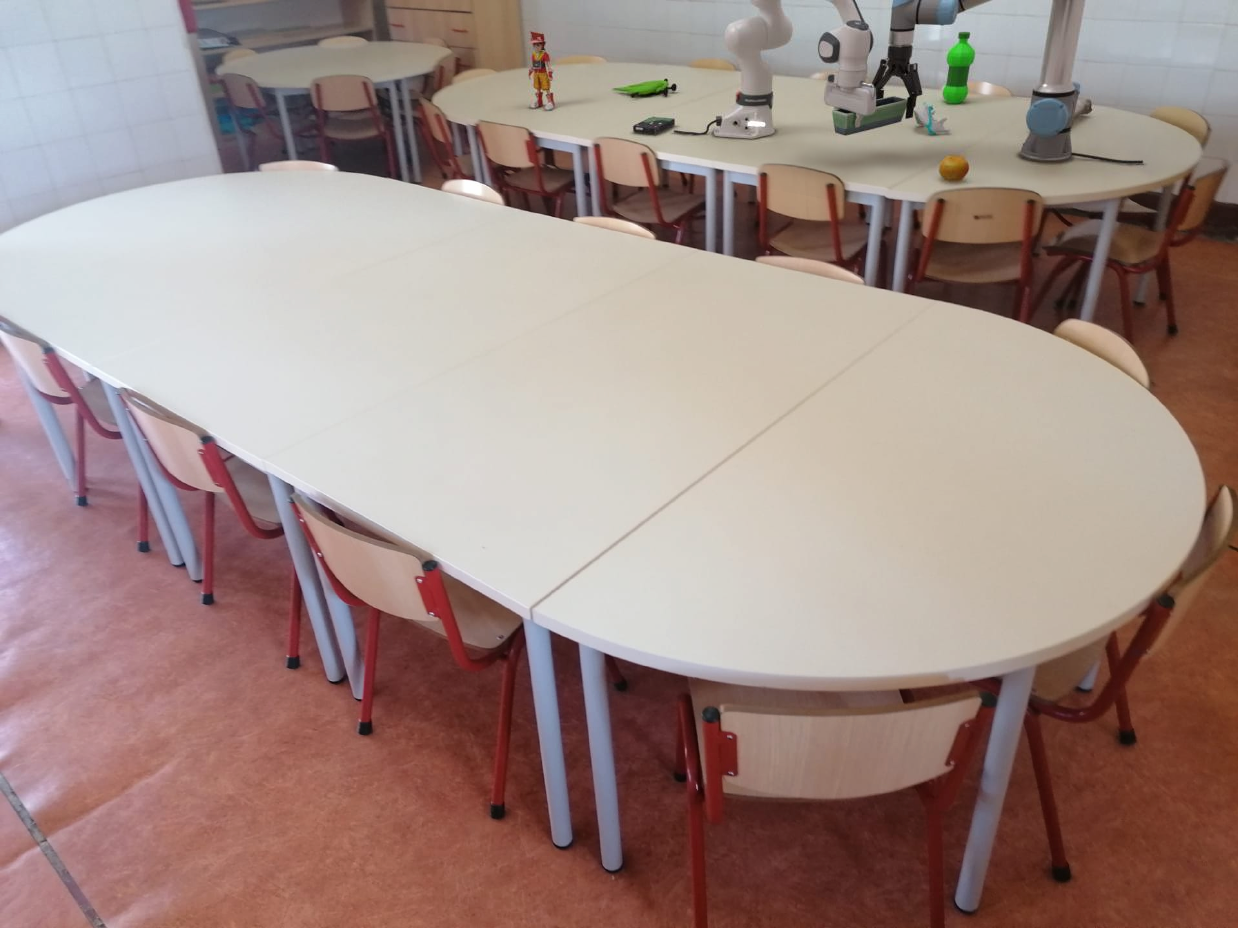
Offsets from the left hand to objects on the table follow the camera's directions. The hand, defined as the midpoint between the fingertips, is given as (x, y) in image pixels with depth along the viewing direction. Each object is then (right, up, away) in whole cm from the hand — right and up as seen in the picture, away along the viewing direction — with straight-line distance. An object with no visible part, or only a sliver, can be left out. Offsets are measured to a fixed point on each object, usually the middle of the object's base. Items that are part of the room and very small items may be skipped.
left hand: (847, 124), depth 289 cm
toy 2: (-64, +55, +108) cm, 137 cm away
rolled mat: (+85, +12, +33) cm, 92 cm away
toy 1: (-106, +43, +94) cm, 148 cm away
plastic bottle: (+59, +34, +66) cm, 95 cm away
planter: (+8, +1, +5) cm, 10 cm away
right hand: (+17, +6, +7) cm, 20 cm away
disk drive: (-60, +19, +55) cm, 84 cm away
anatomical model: (+38, +11, +35) cm, 53 cm away
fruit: (+30, -22, -11) cm, 38 cm away
